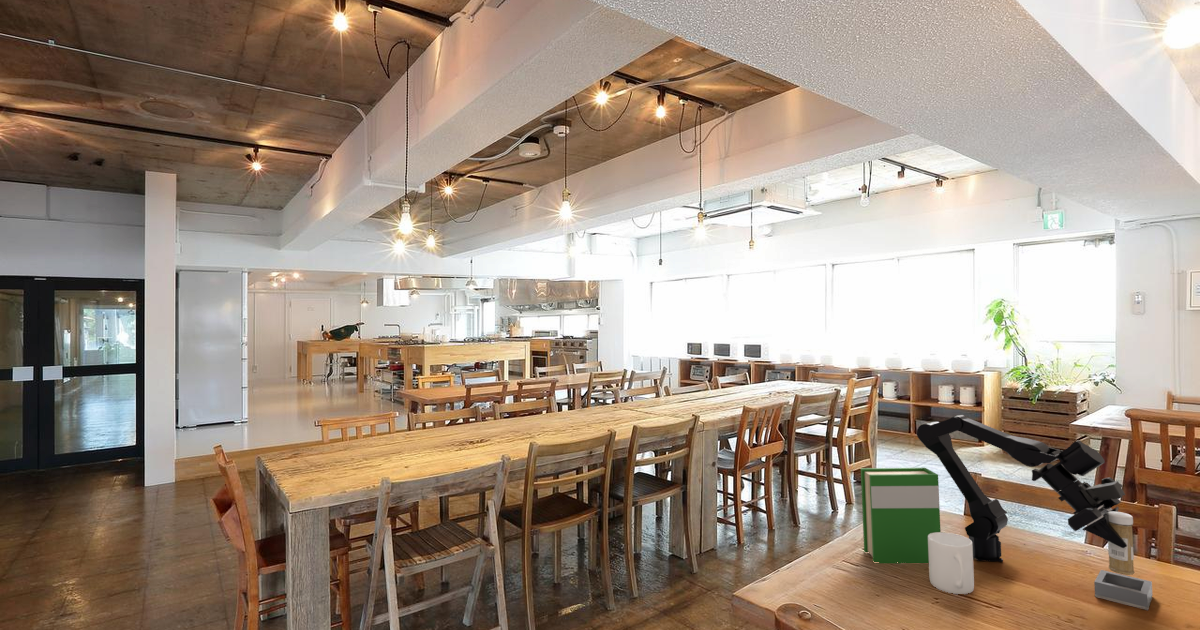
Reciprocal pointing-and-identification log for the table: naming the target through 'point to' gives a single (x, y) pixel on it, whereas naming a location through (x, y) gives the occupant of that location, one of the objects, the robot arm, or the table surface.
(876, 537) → the hardback book
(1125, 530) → the sprinkles bottle
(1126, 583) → the holder
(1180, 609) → the table surface
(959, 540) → the mug
